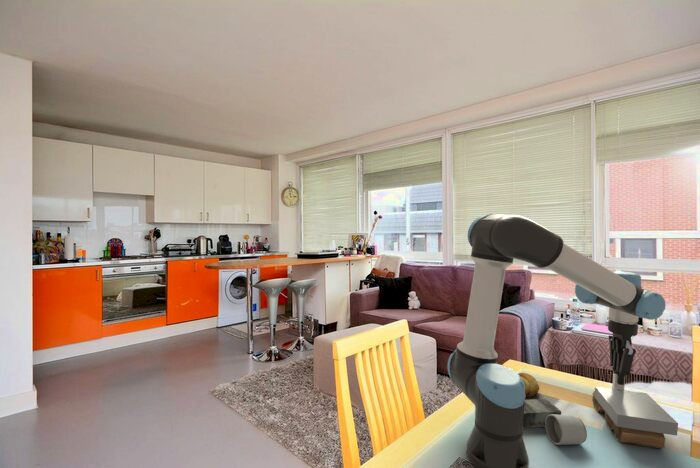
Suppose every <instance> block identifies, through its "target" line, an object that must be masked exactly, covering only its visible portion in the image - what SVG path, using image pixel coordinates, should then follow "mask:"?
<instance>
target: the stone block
mask: <svg viewBox="0 0 700 468" xmlns="http://www.w3.org/2000/svg"><path fill="white" fill-rule="evenodd" d="M550 414H556V415H562V410H560V409H559V407H557V406H555V404H553V403H552V402H551V401H549V400H548V399H547V398H536V399H535V398H533V399H525V403H524V418H523V429H526V428H529V429H530V428H537V427H543V428H545V420H546V417H547V416H548V415H550Z"/></svg>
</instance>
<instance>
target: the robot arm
mask: <svg viewBox="0 0 700 468" xmlns="http://www.w3.org/2000/svg"><path fill="white" fill-rule="evenodd" d="M467 242H468V243H469V245H470V247H471V253H470V258H471V260H473V262H474V270H473V276H472V283H471V288H470V293H469V294H470V295H469V300H468V307H467V315H466V320H465V325H464V326H465V327H464V334H463V338H462V339H463V340H462V341H461V342H458V343H457V345H456V349H455V350H454V351H453V352H452V353H451V354H450V355H449V357H448V360H447V373H448V375H449V378H450V379H451V380H452V382H453V384H454V385H455V386H456V388H458V389H459V390H460V391H461V392H462V393H463V394H464V395H465V396H466V397H467V398H468V399H469V401H470V402H471V403H472V404H473V405H474V408H475V409H474V425H473V428H472V430H471V433H470V435H469V437H468V440H467V443H466V456H467V455H468V456H467V459H468V460H469V462H470V461H471V462H472V463H471V462H470V463H471V464H472V465H473V466H474V467H475V468H529V465H530V459H529V455H528V452H527V449H526V444H525V441H524V437H523V435H524V433H523V429H524V428H523V418H524V403H525V400H526V397H525V385H524V382H523V380H522V378H521V377H520V375H519V374H518V373H519V372H517V371H515V370H514V369H512V368H510V367H509V366H507V367H506V366H505V365H502V364H499V363H498V358H499V354H498V352H497V351H496V350H495V348H494V347H495V346H494V345H495V341H496V334H497V327H498V322H499V321H498V319H499V314H500V309H501V302H502V295H503V291H504V290H503V289H504V283H505V277H506V271H507V268H509V267H510V266H512V265H513V264H514V260H518V261H522V262H526V263H528V264H531V265H533V266H535V267H537V268H539V269H545V268H546V269H548V270H550V271H552V272H553V273H555V274H558V275H559V276H561V277H563V278H564V279H567V280H569V281H570V282H572V283H573V284H575V287H574V289H575V290H574V293H575V296H576V298H577V300H578V301H579V302H580V303H582V304H586V305H588V304H589V305H594V304H595V305H599V306H600V305H601V306H603V307H607V308H608V318H609V319H608V320H607V321H608V324H607V330H608V331H609V332H610V333H612V335H608V340H609V341H608V342H609V365H610V367H612V371H613V373H612V384H611V389H618V390H625V384H626V383H625V381H626V376H630V375H631V370H632V366H633V361H634V357H635V355H636V353H637V350H636V348H632V345H633V343H632V337H636V336H637V335H638V333H639V332H638V331H639V324H638V322H639V319H646V320H648V321H649V320H657V319H658V318H660V317H662V315H663V314H664V312H665V310H666V300H665V297H663V295H662V294H661V293H658V292H656V291H652V290H649V289H644V288H643V287H642V276H641V275H640V274H638V273H637V272H631V271H619V270H618V271H612V270H610V269H608V268H606V267H605V266H603V265H602V264H600V263H598V262H596V261H594V260H593V259H591V258H590V257H588V256H586V255H584V254H582V253H581V252H579V251H578V250H576V249H574V248H572V247H571V246H569V245H567V244H565V240H564V239H563V238H562V237H561V236H559V235H558V234H556V233H555V232H553V231H552V230H550V229H548V228H546V227H545V226H543V225H541V224H539V222H538V223H537V222H536V221H533V220H532V219H530V218H527V217H525V216H522V215H518V214H500V213H499V214H498V213H489V214H483V215H481V216H478V217H477V218H476V219H474V220H473V222H471V223H470V226H469V227H468V230H467Z"/></svg>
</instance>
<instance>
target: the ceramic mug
mask: <svg viewBox="0 0 700 468" xmlns="http://www.w3.org/2000/svg"><path fill="white" fill-rule="evenodd" d="M544 428H545V432H546V435H547V437H548V438H549V440H550V441H551V442H552V443H553V444H554V445H557V446H562V445H563V446H564V445H581V444H583V443H585V442H586V440H587V437H588V432H587V428H586V425H585V424H584V422H583V421H582V420H581V418H579V417H577V416H575V415H571V414H561V415H556V414H550V415H548V416H547V417H546V420H545V427H544Z"/></svg>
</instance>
